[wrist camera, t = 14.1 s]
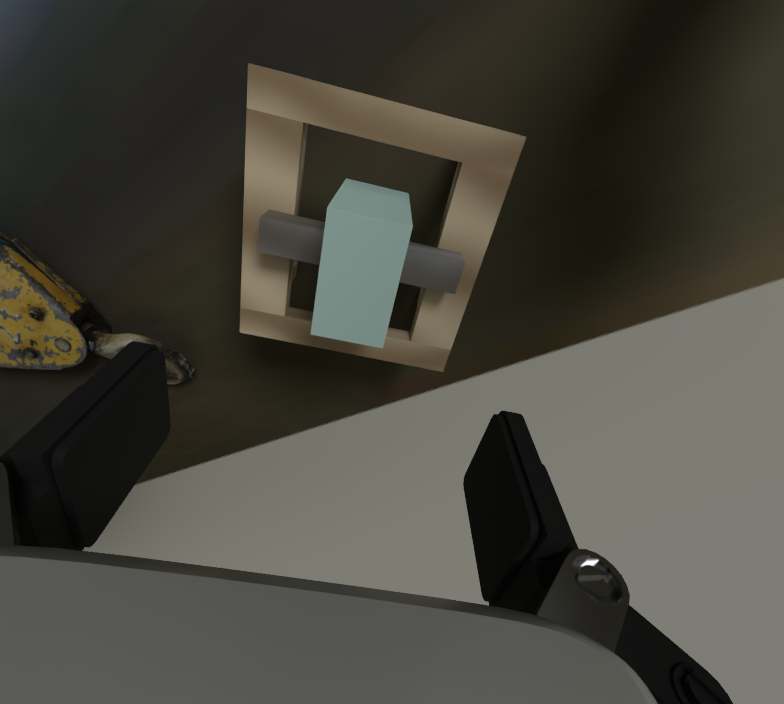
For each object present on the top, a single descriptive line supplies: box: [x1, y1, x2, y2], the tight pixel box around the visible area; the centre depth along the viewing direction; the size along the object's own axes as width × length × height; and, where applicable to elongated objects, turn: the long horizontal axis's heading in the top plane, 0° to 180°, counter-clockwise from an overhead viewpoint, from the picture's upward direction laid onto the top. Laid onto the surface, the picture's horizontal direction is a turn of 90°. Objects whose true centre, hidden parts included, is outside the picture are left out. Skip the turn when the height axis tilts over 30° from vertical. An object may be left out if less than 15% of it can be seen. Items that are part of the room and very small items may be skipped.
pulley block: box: [0, 233, 195, 385], centre depth 40 cm, size 14×6×30 cm
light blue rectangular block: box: [311, 179, 413, 348], centre depth 24 cm, size 7×4×8 cm, turn 167°
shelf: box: [240, 63, 526, 372], centre depth 30 cm, size 16×15×14 cm
